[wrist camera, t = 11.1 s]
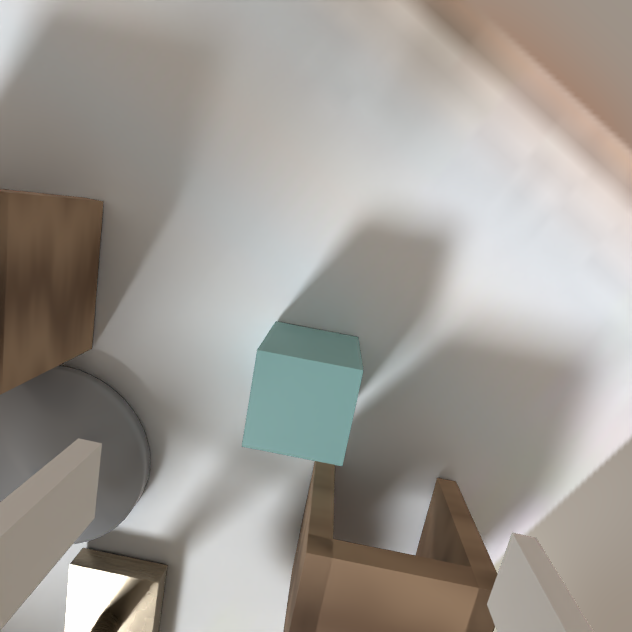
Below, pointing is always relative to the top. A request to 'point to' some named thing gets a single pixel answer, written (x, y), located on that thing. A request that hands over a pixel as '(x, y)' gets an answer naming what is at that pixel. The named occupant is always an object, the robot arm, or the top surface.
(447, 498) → the cover
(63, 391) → the dish
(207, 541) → the top surface
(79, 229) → the cover
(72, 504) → the robot arm
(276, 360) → the block
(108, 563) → the balance
